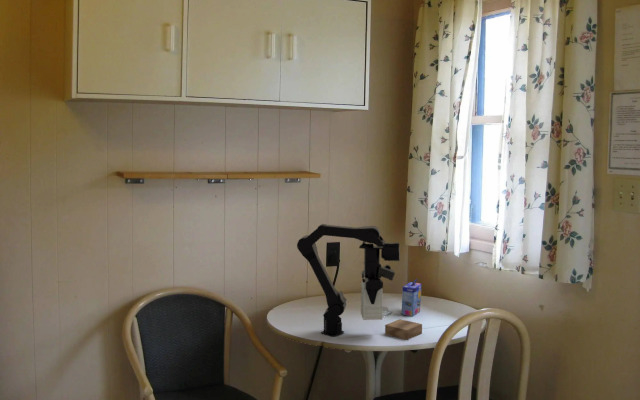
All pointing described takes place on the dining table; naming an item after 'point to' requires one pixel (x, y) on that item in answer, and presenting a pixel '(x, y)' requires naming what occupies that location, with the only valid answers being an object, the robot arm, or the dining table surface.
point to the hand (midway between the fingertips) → (371, 301)
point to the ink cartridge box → (411, 299)
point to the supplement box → (371, 305)
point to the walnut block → (403, 329)
